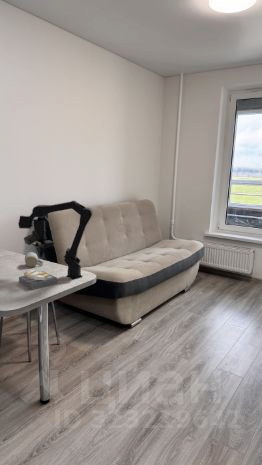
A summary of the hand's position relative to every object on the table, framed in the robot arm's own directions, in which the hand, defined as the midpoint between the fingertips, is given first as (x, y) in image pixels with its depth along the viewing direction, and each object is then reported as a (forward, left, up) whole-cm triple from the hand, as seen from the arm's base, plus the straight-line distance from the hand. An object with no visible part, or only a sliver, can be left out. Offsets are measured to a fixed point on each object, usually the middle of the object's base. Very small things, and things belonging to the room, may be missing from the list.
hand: (40, 257), depth 174 cm
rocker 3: (+8, +12, -6) cm, 16 cm away
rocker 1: (+8, +3, -6) cm, 11 cm away
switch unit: (+6, +8, -11) cm, 15 cm away
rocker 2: (+8, +8, -6) cm, 13 cm away
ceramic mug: (-7, -20, -11) cm, 24 cm away
